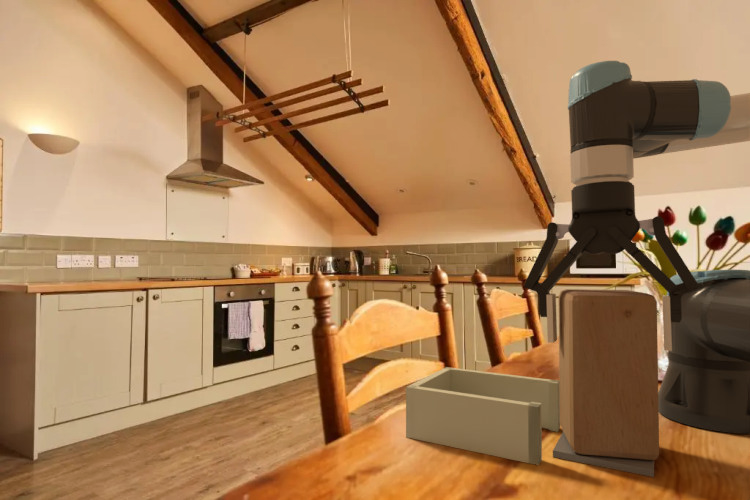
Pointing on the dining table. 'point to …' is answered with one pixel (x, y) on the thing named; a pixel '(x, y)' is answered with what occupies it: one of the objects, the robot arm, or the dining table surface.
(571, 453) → the trivet
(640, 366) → the wooden block
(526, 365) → the dining table surface
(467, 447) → the crate
